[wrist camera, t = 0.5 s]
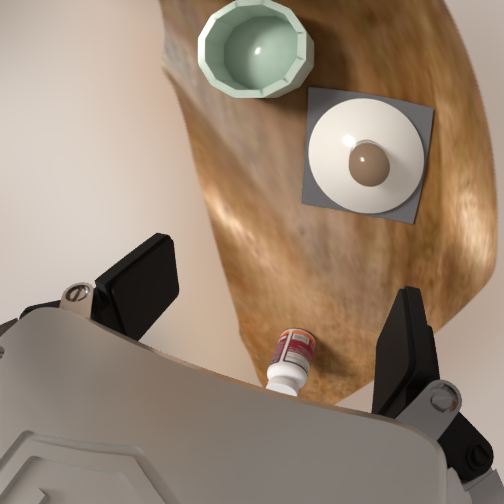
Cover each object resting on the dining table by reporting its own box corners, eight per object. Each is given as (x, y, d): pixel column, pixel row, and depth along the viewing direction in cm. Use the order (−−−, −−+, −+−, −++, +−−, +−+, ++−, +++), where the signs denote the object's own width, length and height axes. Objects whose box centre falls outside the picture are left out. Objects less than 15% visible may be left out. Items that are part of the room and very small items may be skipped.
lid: (312, 91, 27) (304, 89, 22) (428, 111, 23) (442, 114, 19) (305, 200, 34) (297, 217, 29) (410, 219, 30) (417, 240, 26)
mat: (308, 87, 27) (308, 87, 27) (432, 108, 23) (433, 108, 23) (302, 202, 34) (301, 203, 34) (412, 222, 30) (413, 224, 30)
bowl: (221, 16, 25) (198, 6, 21) (314, 12, 22) (306, -4, 17) (220, 97, 31) (198, 99, 26) (312, 100, 28) (304, 100, 23)
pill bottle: (288, 353, 49) (270, 403, 40) (274, 329, 47) (253, 380, 38) (321, 349, 46) (307, 403, 37) (309, 324, 44) (292, 379, 35)
